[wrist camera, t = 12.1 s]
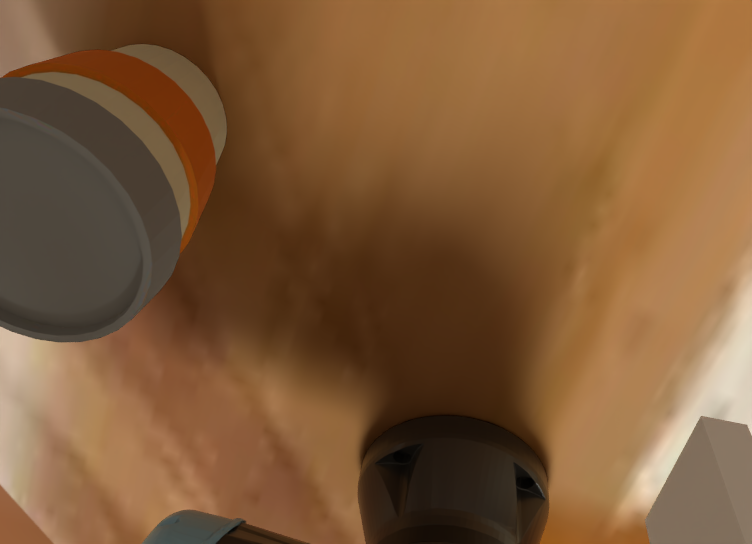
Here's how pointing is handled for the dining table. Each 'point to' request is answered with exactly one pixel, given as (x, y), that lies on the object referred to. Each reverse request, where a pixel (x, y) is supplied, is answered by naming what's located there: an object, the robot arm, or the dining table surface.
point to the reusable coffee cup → (100, 185)
